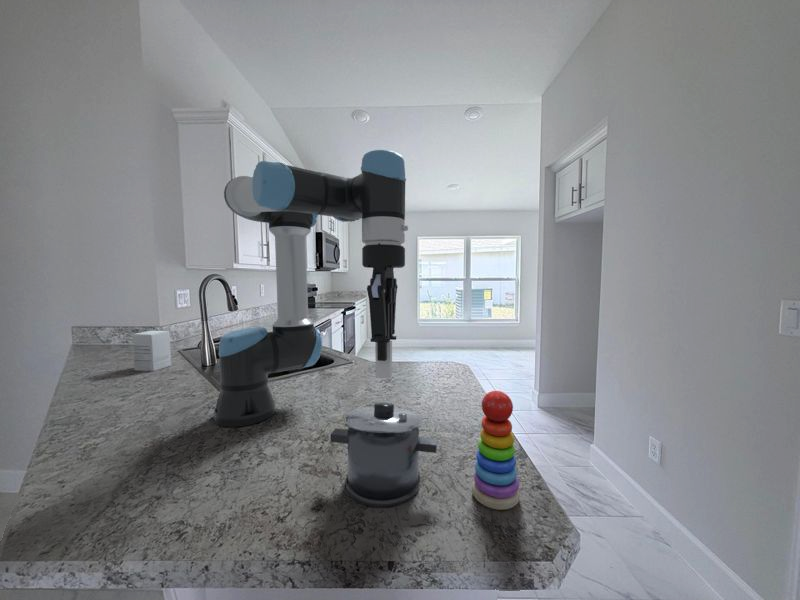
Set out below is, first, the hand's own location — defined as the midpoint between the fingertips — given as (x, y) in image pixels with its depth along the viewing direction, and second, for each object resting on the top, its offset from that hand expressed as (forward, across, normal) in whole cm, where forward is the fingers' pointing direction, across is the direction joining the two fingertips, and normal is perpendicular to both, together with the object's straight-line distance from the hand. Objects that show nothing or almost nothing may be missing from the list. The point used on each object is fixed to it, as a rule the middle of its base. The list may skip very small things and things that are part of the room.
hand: (383, 376), depth 59 cm
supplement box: (+20, +54, +111) cm, 125 cm away
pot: (+20, 0, 0) cm, 20 cm away
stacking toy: (+20, 0, -20) cm, 28 cm away
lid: (+9, +1, 0) cm, 9 cm away
